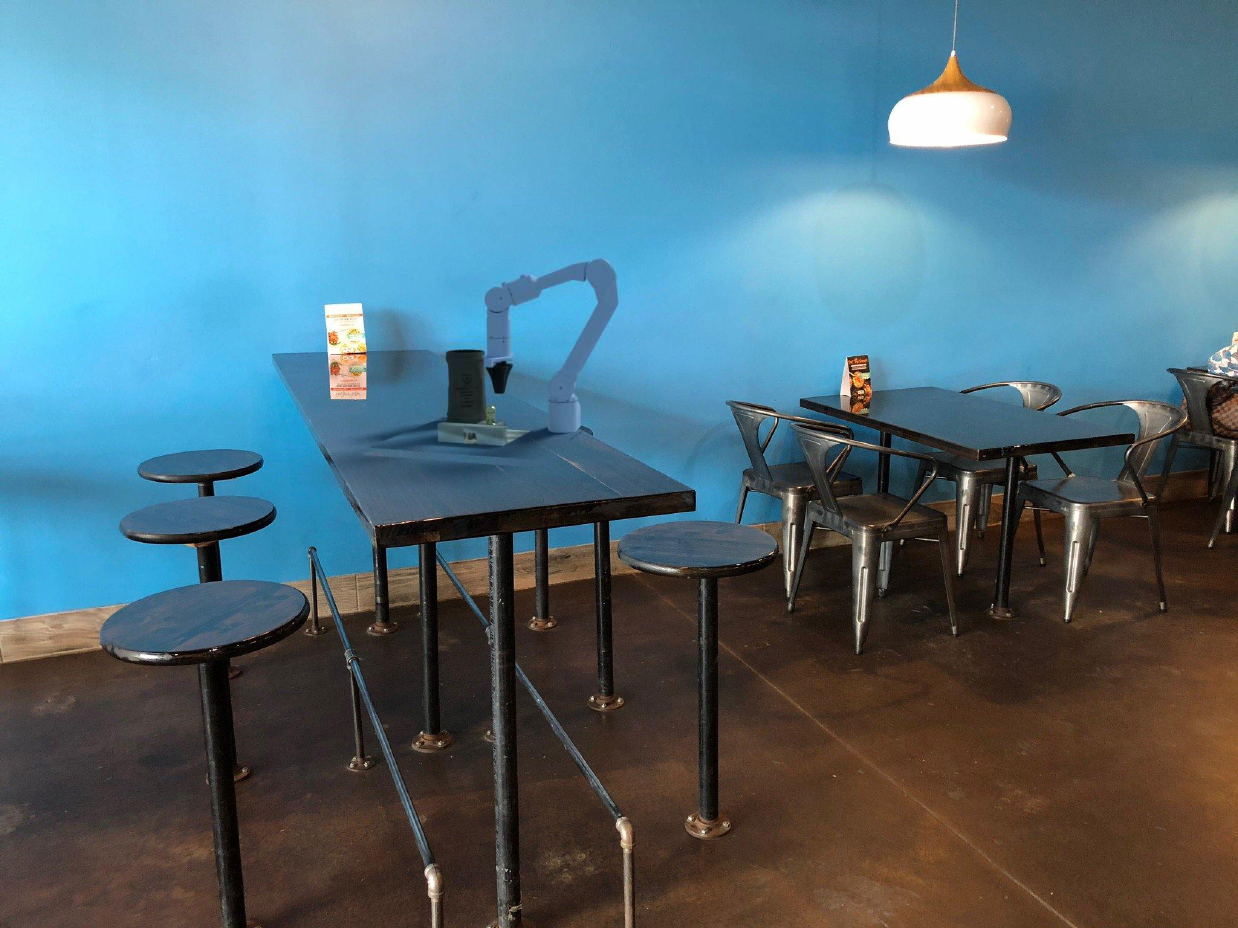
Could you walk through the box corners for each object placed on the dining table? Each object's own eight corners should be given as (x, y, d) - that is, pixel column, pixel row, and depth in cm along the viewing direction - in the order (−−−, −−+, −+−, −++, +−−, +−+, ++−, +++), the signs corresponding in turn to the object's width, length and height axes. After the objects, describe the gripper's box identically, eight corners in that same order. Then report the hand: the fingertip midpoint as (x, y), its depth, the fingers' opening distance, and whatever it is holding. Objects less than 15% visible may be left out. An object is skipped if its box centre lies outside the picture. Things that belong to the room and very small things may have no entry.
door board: (469, 433, 235) (468, 411, 234) (530, 437, 231) (530, 414, 230) (438, 447, 218) (437, 424, 217) (503, 452, 214) (502, 428, 213)
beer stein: (493, 430, 239) (491, 350, 236) (451, 432, 235) (448, 351, 232) (479, 423, 253) (476, 348, 250) (439, 425, 249) (436, 349, 246)
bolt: (488, 431, 229) (487, 404, 228) (497, 431, 228) (497, 405, 227) (474, 437, 221) (474, 410, 220) (484, 438, 221) (483, 410, 219)
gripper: (494, 334, 236) (495, 388, 239) (471, 339, 222) (472, 396, 225) (521, 335, 234) (521, 389, 237) (499, 340, 221) (500, 398, 224)
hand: (499, 393), depth 231 cm, fingers closed
